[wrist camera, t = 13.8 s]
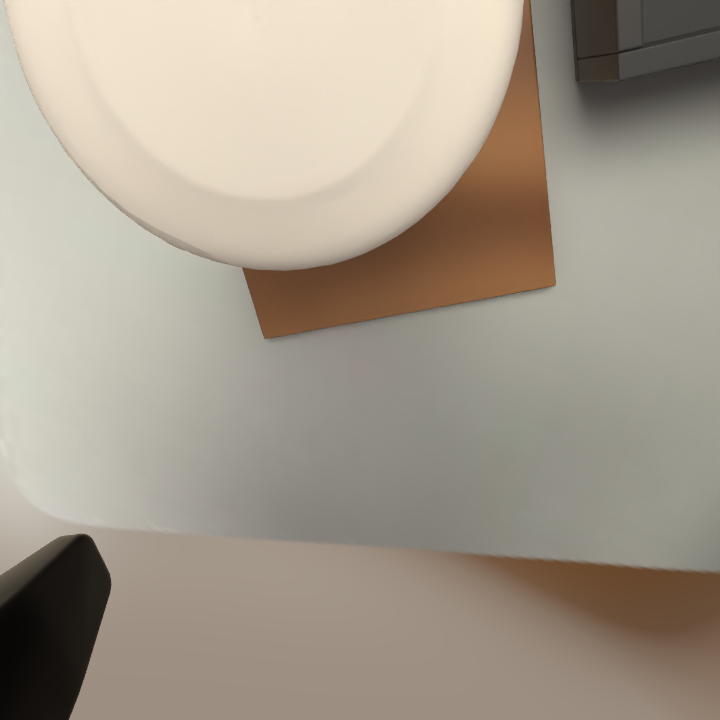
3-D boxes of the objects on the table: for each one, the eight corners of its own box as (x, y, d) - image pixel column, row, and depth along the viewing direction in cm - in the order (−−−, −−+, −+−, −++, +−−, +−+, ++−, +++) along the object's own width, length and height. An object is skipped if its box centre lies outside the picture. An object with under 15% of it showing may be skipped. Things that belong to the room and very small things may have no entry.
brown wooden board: (553, 281, 20) (556, 286, 19) (266, 334, 21) (264, 339, 21) (490, -387, 14) (494, -403, 13) (89, -245, 15) (80, -256, 15)
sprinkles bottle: (332, 177, 18) (197, 360, 6) (248, 32, 17) (-148, -100, 5) (467, 94, 17) (624, 121, 5) (389, -69, 16) (346, -593, 4)
